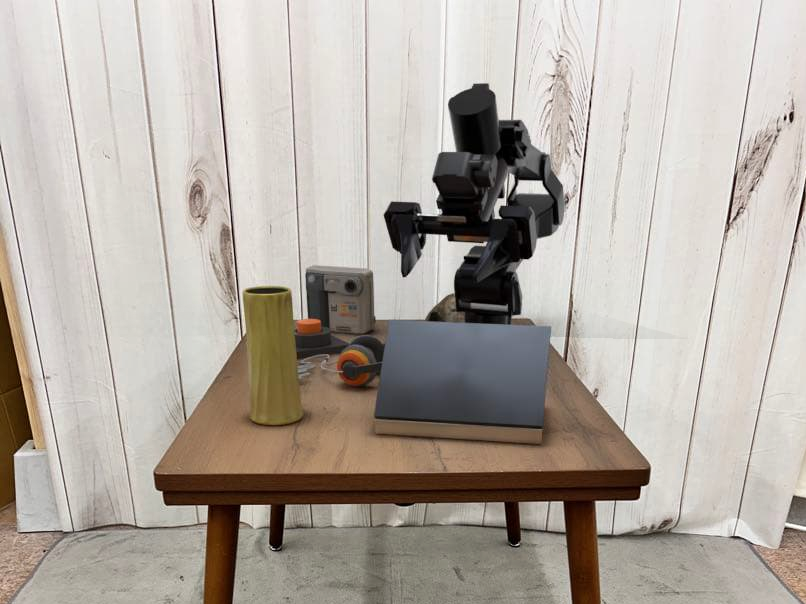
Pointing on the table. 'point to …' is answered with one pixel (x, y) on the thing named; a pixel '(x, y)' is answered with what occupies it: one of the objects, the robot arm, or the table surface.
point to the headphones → (354, 361)
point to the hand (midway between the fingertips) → (438, 276)
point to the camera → (341, 298)
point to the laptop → (458, 431)
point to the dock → (318, 343)
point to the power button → (308, 326)
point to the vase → (272, 355)
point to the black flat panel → (464, 374)
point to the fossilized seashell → (446, 311)
